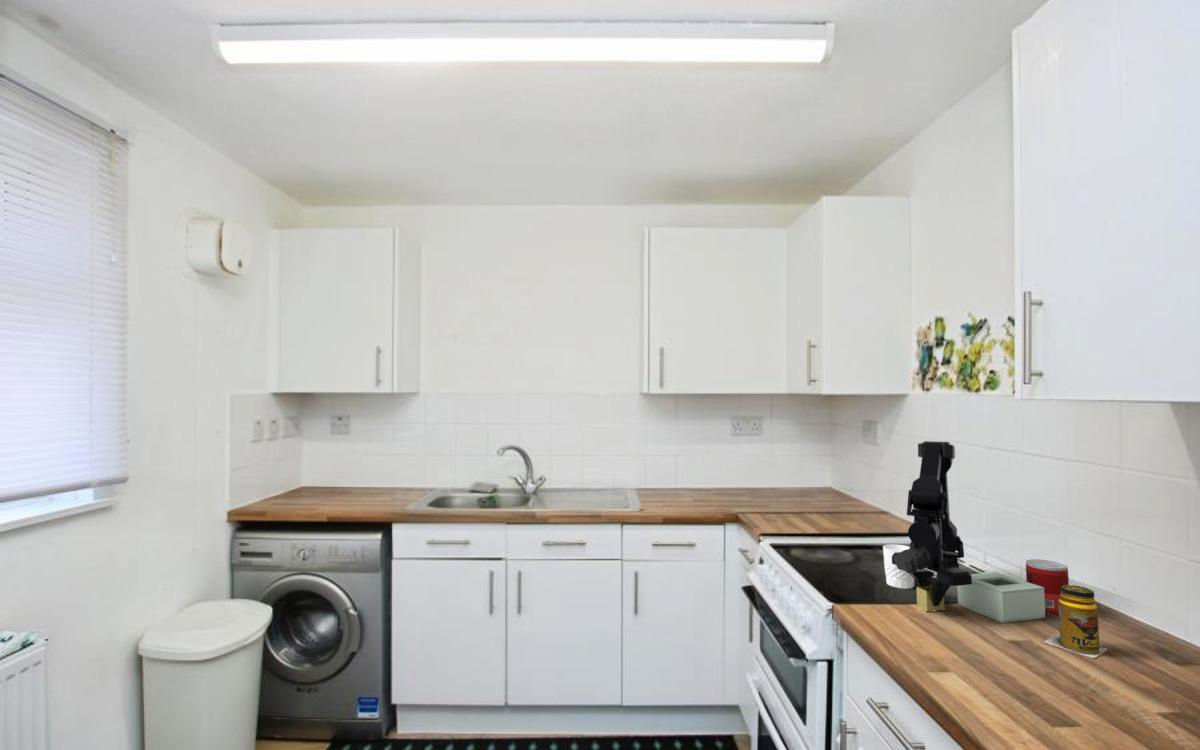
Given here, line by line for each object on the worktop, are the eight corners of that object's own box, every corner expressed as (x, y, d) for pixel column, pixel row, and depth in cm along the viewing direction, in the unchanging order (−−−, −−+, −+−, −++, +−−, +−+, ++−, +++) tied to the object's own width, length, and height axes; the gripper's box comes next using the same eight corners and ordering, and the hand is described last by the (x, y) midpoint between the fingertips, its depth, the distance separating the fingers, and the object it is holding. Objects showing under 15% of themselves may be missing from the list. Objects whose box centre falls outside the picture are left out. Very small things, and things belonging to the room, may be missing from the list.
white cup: (891, 578, 156) (890, 542, 157) (921, 585, 150) (920, 548, 151) (878, 584, 151) (877, 547, 152) (909, 591, 145) (908, 553, 146)
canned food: (1078, 616, 128) (1076, 568, 129) (1044, 615, 128) (1041, 568, 129) (1052, 604, 136) (1050, 559, 137) (1019, 604, 136) (1017, 559, 137)
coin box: (958, 604, 136) (956, 575, 136) (997, 600, 139) (996, 572, 139) (1003, 623, 124) (1002, 591, 125) (1045, 618, 127) (1044, 587, 127)
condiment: (1094, 659, 107) (1091, 596, 107) (1042, 643, 114) (1039, 584, 115) (1108, 650, 111) (1105, 589, 111) (1056, 635, 118) (1054, 578, 118)
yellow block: (917, 607, 134) (916, 586, 134) (934, 605, 135) (933, 585, 135) (927, 612, 131) (926, 590, 131) (944, 610, 132) (943, 589, 132)
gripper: (872, 531, 141) (874, 593, 140) (931, 550, 123) (934, 621, 122) (909, 529, 144) (911, 590, 143) (972, 547, 126) (975, 617, 125)
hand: (930, 603), depth 133 cm, fingers closed on yellow block, 3 cm apart
